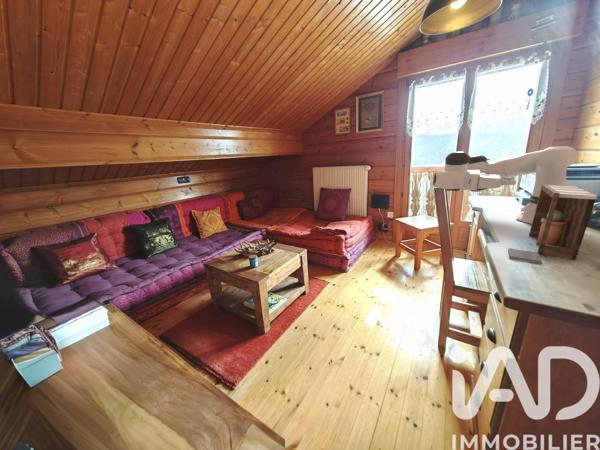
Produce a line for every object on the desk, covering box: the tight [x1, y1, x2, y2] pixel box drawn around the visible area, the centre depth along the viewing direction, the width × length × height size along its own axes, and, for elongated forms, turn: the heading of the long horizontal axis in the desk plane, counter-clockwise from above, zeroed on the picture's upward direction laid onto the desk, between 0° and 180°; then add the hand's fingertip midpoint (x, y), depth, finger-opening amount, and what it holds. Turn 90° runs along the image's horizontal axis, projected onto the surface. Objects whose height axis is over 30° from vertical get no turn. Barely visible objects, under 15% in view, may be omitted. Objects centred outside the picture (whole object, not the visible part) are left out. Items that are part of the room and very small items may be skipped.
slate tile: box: [507, 247, 542, 265], centre depth 88 cm, size 9×8×1 cm
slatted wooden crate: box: [528, 184, 598, 261], centre depth 93 cm, size 25×10×24 cm, turn 143°
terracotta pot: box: [535, 210, 567, 247], centre depth 95 cm, size 7×7×15 cm
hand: (514, 181), depth 97 cm, fingers open, 8 cm apart
